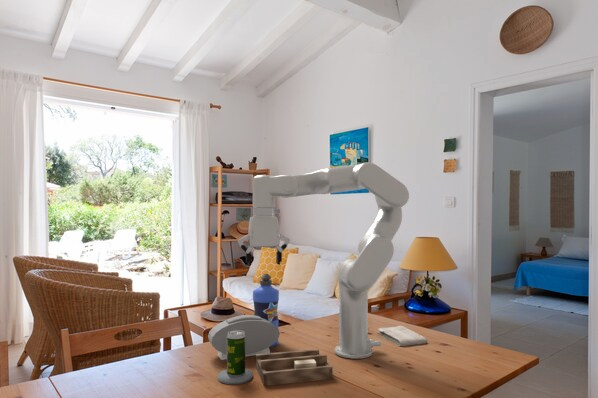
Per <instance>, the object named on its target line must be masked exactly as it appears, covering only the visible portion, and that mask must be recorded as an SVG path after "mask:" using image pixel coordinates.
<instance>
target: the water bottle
mask: <svg viewBox="0 0 598 398" xmlns="http://www.w3.org/2000/svg"><path fill="white" fill-rule="evenodd" d="M271 278H272V276H271V275H270V274H269V273H263V274H262V275H261V276H260V279H261V280H259V283H260V284H259V285H260V286H259V287H257V288H256V289H253V290H252V301H253V308H254V314H253V315H255V316H259V317H261V318H263V319H266V320H268V321H270V322H271V323H272V324H274V325H275V326H276V327H277V328H278V329H279V315H278V305H279V300H280V296H279V295H280V292H279V291H280V290H278V289H276V288H275V287H273V286H272V285H273V283H272V282H273V280H272V279H271ZM278 345H279V339H278V340H277V341H276V342H275V343H274V344H273V345H271V346H270V347H269V349H270V348H273V347H277V346H278Z"/></svg>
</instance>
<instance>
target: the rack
mask: <svg viewBox="0 0 598 398" xmlns="http://www.w3.org/2000/svg"><path fill="white" fill-rule="evenodd" d="M310 359H314V360H315V362H316V367H308V368H298V369H294V361H295V360H310ZM255 369H256V370H257V373H258V375H259V377H260V381H261V382H262V385H263V387H265V386H267V387H268V386H276V385H285V384H296V383H305V382H313V381H323V380H331V379H332V380H333V365H331V364H329V363H328V355H327V354H321V353H320V349H319V348H316V349H315V348H313V349H304V350H291V351H280V352H270V353H267V354H256V355H255Z"/></svg>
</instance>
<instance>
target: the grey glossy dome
mask: <svg viewBox="0 0 598 398" xmlns="http://www.w3.org/2000/svg"><path fill="white" fill-rule="evenodd" d="M253 377H254V376H253V371H251V370H250V369H247V368H245V374H244V375H243V376H241V377H236V378H234V377H229V376H228V374H227V369H223V370H221V371H220V372H218V374H217V381H218V382H220V383H222V384H225V385H241V384H242V385H243V384H245V383H247V382H249V381H251V380H252V379H253Z"/></svg>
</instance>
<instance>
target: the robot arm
mask: <svg viewBox="0 0 598 398" xmlns="http://www.w3.org/2000/svg"><path fill="white" fill-rule="evenodd" d="M364 189H366V190H367V191H369V192H370V193H371V194H373V195H374V198H375V202H376V204H377V215H376V216H375V219H374V221H372V224H370V227H368V229H367V231H366V232H365V234H364V235H363V236H362V237H361V239H360V241H359V242H358V245H357V250H358V253H359V254H358V256H357V257H356V258H347V259H345V260H344V261H342V262H341V263H340V266H339V267H338V272H337V281H338V295H339V296H338V298H339V299H338V300H339V304H338V305H339V306H338V307H339V309H338V310H339V312H338V313H339V318H338V320H339V321H338V325H339V340H338V341H339V344H338V345H336V346H335V348H334V353H335V355H337V356H339V357H342V358H346V359H355V360H356V359H358V360H359V359H366V358H370V356H372V355H373V349H372V348H373V347H381V346H382V341H381V340H380V339H379V340H375V339H374V338H373V339H370V338H369V334H368V332H369V331H368V327H369V326H368V325H369V323H368V321H369V319H368V318H369V317H368V315H369V314H368V312H369V311H368V309H369V308H368V307H369V306H368V305H369V301H368V299H369V297H368V291H369V290H371V288H372V287H374V285H375V284H376V282H377V281H378V280H379V279H380V277H381V275H382V274H383V273H384V271H385V269H387V267H388V266H389V264H390V262H391V261H392V259H393V257H394V252H395V249H394V244H393V242H392V241H393V239H394V237H395V236H396V234H397V232H398V231H399V229H400V227H401V224H402V221H403V212H402V211H403V210H402V208H403V207H405V205H406V204H407V203H408V202H409V198H410V192H409V189H408V188H407V186H406V185H405V184H404V183H402V182H401V181H400V180H399V179H397V178H395V177H394V176H393V175H392V174H390V173H389V172H387V171H386V170H385V169H383V167H380V166H379V165H378V164H375V163H373V162H371V161H370V162H367V161H366V162H363V163H359V164H353V165H352V164H351V165H345V166H336V167H328V168H324V169H320V170H316V171H313V172H310V173H304V174H296V175H291V174H282V175H275V176H274V175H267V174H266V175H255V176H253V179H252V216H250V217H249V221H248V231H247V232H248V233H247V234H246V235H244V236H242V237H240V238H239V239H237V243H238V245H239V246H240V248H241V250H242V251H244V252H245V263H246V264H247V265H248V266H252V253H251V251H252V250H253V249H255V248H275V249H276V253H275V257H276V258H275V259H276V260H275V261H276V262H275V263H276V264H277V265H281V263H282V261H283V258H282V257H283V254H282V253H283V252H284V250H285V249H287V248H288V245H289V242H290V241H291V240H290V238H288V237H286V236H285V235H282V234H281V233H280V227H279V225H280V224H279V220H278V217H277V216H276V215H278V214H280V209H278V208H277V207H276V197H280V198H283V199H289V198H295V197H301V196H302V197H303V196H309V195H327V194H336V193H343V192H349V191H359V190H364ZM280 240H283V243H282V244H281V243H280ZM245 241H247V244H248V246H247V247H246V246H245V244H244V242H245ZM280 244H281V245H280Z"/></svg>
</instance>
